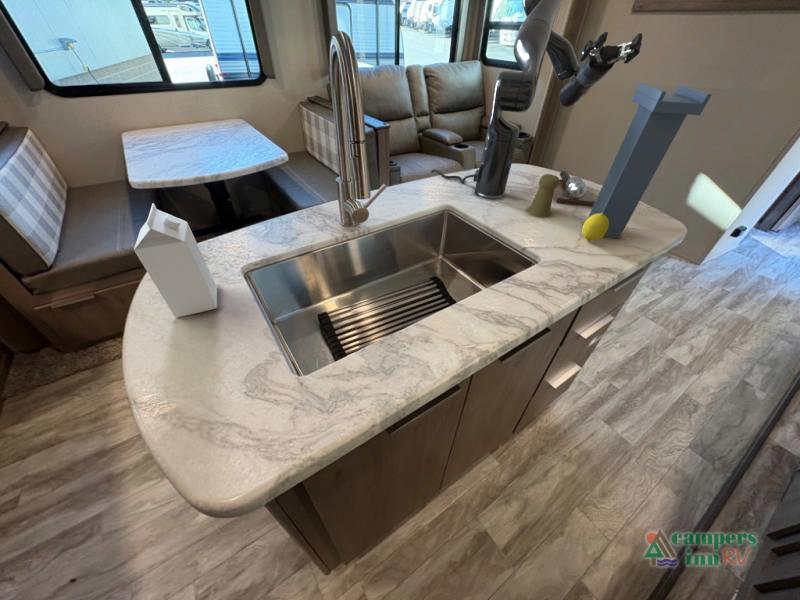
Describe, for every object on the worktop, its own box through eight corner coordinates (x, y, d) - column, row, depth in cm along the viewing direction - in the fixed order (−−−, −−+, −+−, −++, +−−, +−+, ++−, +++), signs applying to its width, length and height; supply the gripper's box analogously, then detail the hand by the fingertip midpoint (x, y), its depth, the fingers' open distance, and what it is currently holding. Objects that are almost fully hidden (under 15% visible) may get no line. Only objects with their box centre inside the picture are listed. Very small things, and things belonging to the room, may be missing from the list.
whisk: (585, 202, 99) (592, 186, 96) (569, 201, 100) (574, 185, 97) (569, 177, 115) (574, 163, 112) (555, 176, 116) (559, 162, 112)
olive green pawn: (545, 218, 94) (558, 181, 86) (525, 212, 96) (536, 176, 89) (551, 211, 97) (565, 175, 90) (532, 205, 100) (544, 170, 93)
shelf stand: (626, 243, 84) (712, 94, 62) (590, 239, 85) (662, 91, 63) (611, 222, 93) (682, 85, 71) (579, 219, 94) (639, 82, 72)
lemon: (590, 248, 82) (604, 220, 77) (572, 238, 86) (585, 210, 80) (604, 244, 84) (619, 216, 79) (586, 234, 88) (599, 206, 82)
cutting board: (592, 205, 101) (594, 201, 100) (556, 202, 103) (557, 197, 102) (579, 185, 114) (581, 181, 113) (547, 182, 115) (548, 178, 114)
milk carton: (175, 318, 59) (118, 226, 47) (178, 295, 64) (127, 206, 52) (217, 309, 62) (174, 218, 49) (217, 287, 66) (177, 200, 54)
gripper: (574, 53, 101) (598, 19, 85) (622, 55, 99) (655, 21, 84) (568, 79, 102) (591, 51, 87) (616, 82, 101) (647, 53, 85)
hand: (622, 36), depth 85 cm, fingers open, 8 cm apart
